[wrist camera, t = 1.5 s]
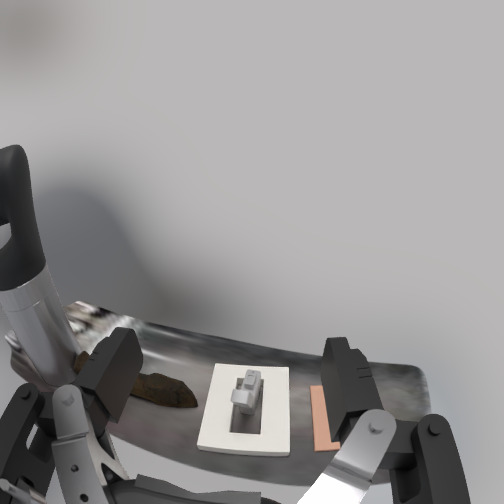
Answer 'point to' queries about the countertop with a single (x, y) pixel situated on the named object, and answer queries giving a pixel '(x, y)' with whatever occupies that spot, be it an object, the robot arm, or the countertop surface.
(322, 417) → the mat
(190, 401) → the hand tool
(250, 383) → the lighter
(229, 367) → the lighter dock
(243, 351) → the countertop surface
